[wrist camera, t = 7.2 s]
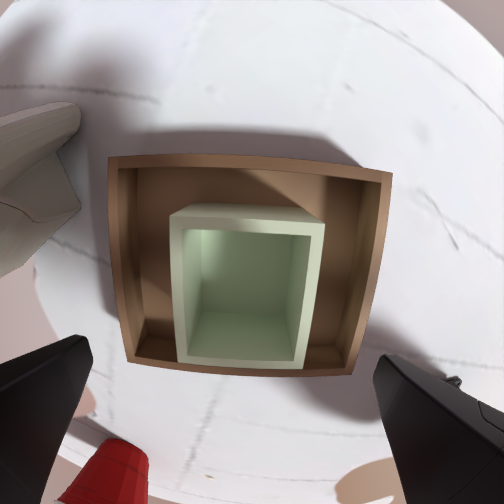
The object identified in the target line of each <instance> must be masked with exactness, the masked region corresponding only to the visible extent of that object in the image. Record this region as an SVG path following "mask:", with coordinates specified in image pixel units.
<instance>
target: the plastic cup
mask: <svg viewBox="0 0 504 504" xmlns="http://www.w3.org/2000/svg"><path fill="white" fill-rule="evenodd" d="M148 469H149V463H148V457H147V455H146V454H145V453H144V452H143V451H142V450H140V449H138V448H137V447H135V446H134V445H132V444H129V443H127V442H125V441H122V440H118V439H107V440H105V442H104V443H102V444H101V445H100V447H99V448H98V450H97V451H96V452H95V454H94V455H93V456H92V457H91V458H90V459H89V460H88V462H87V463H86V464H85V466H84V467H83V469H82V470H81V471H80V473H79V474H78V475H77V477H76V478H75V480H74V481H73V482H72V484H71V485H70V486H69V487H68V488H67V489H66V491H65V492H64V493H63V494H62V495H61V497H59V499H57V500H54V501H53V503H54V504H147V502H148Z"/></svg>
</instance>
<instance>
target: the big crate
mask: <svg viewBox="0 0 504 504" xmlns="http://www.w3.org/2000/svg"><path fill="white" fill-rule="evenodd" d="M392 176H393V173H391V172H385V171H380V170H374V169H368V168H362V167H356V166H349V165H342V164H335V163H327V162H319V161H310V160H301V159H290V158H279V157H265V156H248V155H225V154H158V155H135V156H119V157H108V225H109V242H110V254H111V265H112V274H113V283H114V290H115V297H116V304H117V310H118V316H119V322H120V328H121V333H122V338H123V343H124V348H125V352H126V357H127V361H128V362H130V363H136V364H141V365H147V366H153V367H160V368H167V369H174V370H182V371H190V372H199V373H210V374H222V375H237V376H259V377H316V376H337V375H352V372H353V369H354V366H355V362H356V359H357V356H358V353H359V350H360V346H361V343H362V339H363V336H364V332H365V329H366V325H367V321H368V318H369V314H370V310H371V306H372V302H373V297H374V293H375V289H376V284H377V279H378V274H379V269H380V264H381V259H382V253H383V248H384V242H385V235H386V229H387V222H388V214H389V206H390V197H391V187H392ZM194 202H211V203H235V204H255V205H272V206H287V207H300V208H304V209H305V210H306V211H308V212H309V213H311V214H312V215H313V216H315V217H316V218H318V219H319V220H320V221H322V222H323V223H324V224H325V230H324V239H323V247H322V255H321V263H320V270H319V277H318V284H317V291H316V297H315V304H314V310H313V316H312V321H311V327H310V333H309V338H308V343H307V349H306V354H305V359H304V364H303V369H255V368H234V367H220V366H207V365H197V364H188V363H179V362H178V358H177V349H176V339H175V328H174V316H173V303H172V286H171V265H170V215H172V214H174V213H175V212H177V211H179V210H181V209H183V208H185V207H187V206H188V205H190V204H192V203H194Z"/></svg>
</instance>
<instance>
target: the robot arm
mask: <svg viewBox="0 0 504 504" xmlns="http://www.w3.org/2000/svg"><path fill="white" fill-rule="evenodd" d="M92 365H93V356H92V353H91V349H90V346H89V342H88V339H87V338H86V337H85V336H81V335H77V334H75V335H72V336H69V337H67V338H65V339H62V340H60V341H57V342H55V343H52V344H50V345H47V346H45V347H42V348H40V349H37V350H35V351H32V352H30V353H27V354H25V355H22V356H20V357H17V358H14V359H12V360H9V361H7V362H5V363H2V364H0V504H40V502H41V498H42V495H43V492H44V489H45V486H46V483H47V480H48V477H49V474H50V472H51V468H52V466H53V463H54V461H55V458H56V455H57V453H58V450H59V448H60V445H61V443H62V440H63V438H64V436H65V433H66V431H67V428H68V426H69V424H70V421H71V419H72V417H73V415H74V412H75V410H76V408H77V406H78V403H79V401H80V398H81V396H82V393H83V390H84V387H85V384H86V381H87V378H88V376H89V373H90V370H91V368H92ZM461 383H462V380H461V379H460V378H458V379H455V380H451V381H447V382H444V381H442V380H440V379H439V378H437V377H435V376H433V375H431V374H430V373H428V372H426V371H424V370H422V369H421V368H419V367H417V366H415V365H413V364H412V363H410V362H408V361H406V360H404V359H403V358H401V357H399V356H397V355H396V354H383V355H382V356H381V357H380V359H379V361H378V364H377V367H376V369H375V372H374V375H373V384H374V388H375V392H376V397H377V401H378V405H379V410H380V415H381V419H382V422H383V426H384V429H385V432H386V435H387V438H388V441H389V444H390V447H391V450H392V454H393V457H394V460H395V463H396V467H397V470H398V474H399V477H400V481H401V484H402V488H403V492H404V495H405V499H406V503H407V504H504V413H503V412H501V411H499V410H497V409H495V408H493V407H491V406H489V405H487V404H485V403H483V402H481V401H479V400H478V401H477V399H475V398H474V397H472V396H470V395H468V394H466V393H464V392H462V391H461V390H460V388H459V387H460V385H461Z"/></svg>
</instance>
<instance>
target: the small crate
mask: <svg viewBox="0 0 504 504" xmlns="http://www.w3.org/2000/svg"><path fill="white" fill-rule="evenodd" d="M324 230H325V224H324V223H323V222H322V221H320V220H319V219H318V218H316V217H315V216H313V215H312V214H311V213H309V212H308V211H306V210H305V209H304V208H300V207H287V206H272V205H255V204H235V203H211V202H194V203H192V204H190V205H188V206H187V207H185V208H183V209H181V210H179V211H177V212H175V213H174V214H172V215H170V265H171V286H172V303H173V316H174V328H175V339H176V349H177V358H178V362H179V363H188V364H197V365H207V366H220V367H234V368H255V369H303V364H304V359H305V354H306V349H307V343H308V338H309V333H310V327H311V321H312V316H313V310H314V304H315V297H316V291H317V284H318V277H319V270H320V263H321V255H322V247H323V239H324Z"/></svg>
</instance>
